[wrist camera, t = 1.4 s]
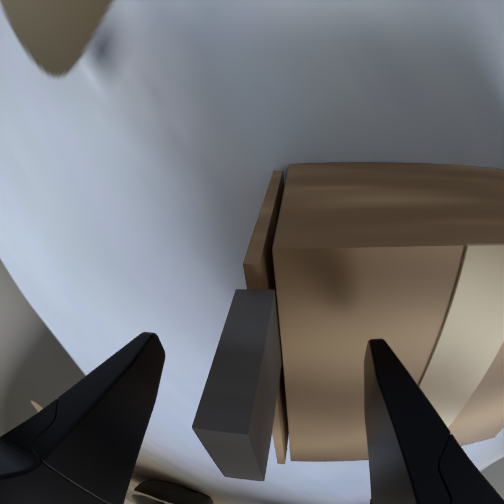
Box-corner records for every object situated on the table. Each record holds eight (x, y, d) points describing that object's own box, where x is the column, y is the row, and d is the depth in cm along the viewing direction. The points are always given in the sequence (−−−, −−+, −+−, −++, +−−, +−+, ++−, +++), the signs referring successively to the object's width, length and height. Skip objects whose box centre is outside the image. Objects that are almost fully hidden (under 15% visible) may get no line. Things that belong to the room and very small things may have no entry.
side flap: (300, 365, 21) (281, 526, 11) (285, 365, 21) (261, 524, 11) (288, 170, 14) (240, 412, 4) (267, 171, 14) (177, 404, 4)
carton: (468, 354, 18) (494, 438, 12) (300, 364, 21) (290, 462, 15) (526, 171, 11) (615, 243, 5) (289, 163, 14) (271, 249, 8)
